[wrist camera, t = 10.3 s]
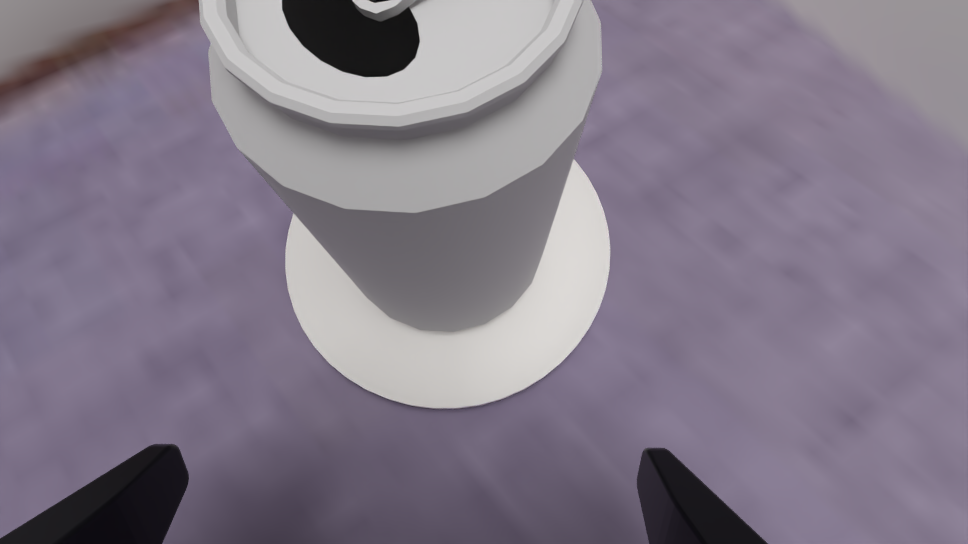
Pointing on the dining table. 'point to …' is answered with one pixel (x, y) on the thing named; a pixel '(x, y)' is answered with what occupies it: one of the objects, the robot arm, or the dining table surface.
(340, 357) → the plate
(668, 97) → the dining table surface
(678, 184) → the dining table surface
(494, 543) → the dining table surface
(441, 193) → the can
